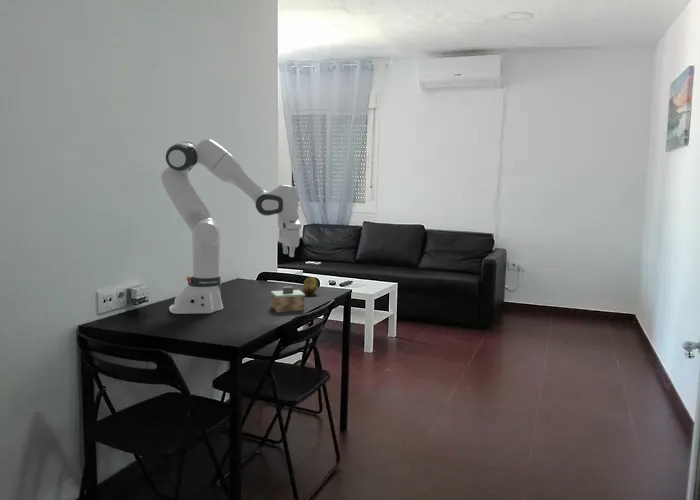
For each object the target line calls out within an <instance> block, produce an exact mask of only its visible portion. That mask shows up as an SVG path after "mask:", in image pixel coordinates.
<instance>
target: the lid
mask: <svg viewBox="0 0 700 500" xmlns="http://www.w3.org/2000/svg"><path fill="white" fill-rule="evenodd" d="M270 294H271V295H272V294H273V295H274V296H275V297H276V298H278V297H297V296H304V297H306V295H305V294H304V293H303V291H301V290H300V289H294V287H293V286H282V290H272V291H270Z"/></svg>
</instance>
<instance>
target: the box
mask: <svg viewBox="0 0 700 500" xmlns="http://www.w3.org/2000/svg"><path fill="white" fill-rule="evenodd" d="M271 308H272V309H273V310H274V311H275V312H276V313H281V312H283V313H284V312H296V311H299V312H300V311H305V296H297V297H278V298H276V297H275V296H274V295H273V294H272V293H271Z"/></svg>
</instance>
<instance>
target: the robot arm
mask: <svg viewBox="0 0 700 500" xmlns="http://www.w3.org/2000/svg"><path fill="white" fill-rule="evenodd" d="M165 161H166V163H167V165H168V167H167V168H165V169H164V170H163V171H162V172H161V176H160V179H161V183H162V186H163V187H164V190H165V192H166V194H167V195H168V197H169V199H170V200H171V202H172V203H173V206H174V207H175V209H176V210H177V212H178V213H179V215H180V216H181V218H182V220H183V221H184V223H185V224H186V225H187V227H188V228H189V230H190V232H191V233H192V238H191V239H192V276H186V278H185V279H186V281H187V286H185V287H184V288H183V289H181V291H179V292H178V293H177V294H176V296H175V299H174V303H173V304H171V305H170V306H169V307H168V309H169V312H170V313H172V314H173V315H174V314H176V315H177V314H178V315H181V314H184V315H188V314H212V313H214V312H218V311H221V310H223V309H224V305H223V301H222V295H221V287H222V286H221V285H222V282H221V281H222V279H221V275H220V246H221V245H220V243H221V242H220V240H221V239H220V238H221V236H220V234H221V233H220V227H219V224H218V222H217V221H216V220H215V217H214V216H213V215H212V213H211V212H210V210H209V208H208V207H207V205H206V203H205V201H204V200H203V198H202V197H201V195H200V193H199V192H198V190H197V188H196V187H195V185H194V183H193V182H192V181H191V179H190V175H189V172H190V171H191V170H192V168H194V167H195V166H196V164H197V165H202V166H203V167H204V168H205V169H207V170H208V171H209V172H210V173H211V174H212V175H213V176H216V178H218V179H219V180H222V182H225V183H227V184H231V185H233V186H235V187H237V188H239V189H240V190H241V192H243V193H244V194H245V195H247V196H248V197H249V198H250V199H251V200H252V201H253V202H254V204H255V208H256V211H257V212H258V213H259V214H261V215H262V216H267V217H269V216H270V217H271V216H273V215H277V227H278V241H279V243H282V245H281V246H282V253H283V254H284V255H288V256H289V257H290V258H294V257H295V251H296V248H298V247H299V245H300V240H301V239H300V237H301V235H300V234H301V231H300V229H301V228H302V224H301V223H300V215H299V211H298V210H299V205H300V204H299V193H298V189H297V188H296V187H294V186H293V185H287V184H279V186H277V187H275V188H274V189H271V190H267V189H266V190H265V189H263V188H262V187H261V186H260V185H259V184H257V183H256V182H255V181H254V180H253V179H252V178H250V177H249V175H248V174H246V172H245V171H244V168H243V167H242V166H241V164H240V163H239V162H238V160H237V159H236V158H235V157H234V156H233V155H232V154H231V153H230V152H229V151H228V150H226V149H225V148H224V147H223V146H221V144H219V143H217V142H216V141H214V140H212V139H210V138H205V139H202V140H200V141H199V142H198V143H197V144H196V145H195V143H193V142H191V141H180V142H177V143H175V144H173V145H171V146H170V147H169V148H168V149H167V151H166V153H165ZM288 247H289V249H288Z"/></svg>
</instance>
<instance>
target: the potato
mask: <svg viewBox="0 0 700 500" xmlns="http://www.w3.org/2000/svg"><path fill="white" fill-rule="evenodd" d="M318 285H319V284H318V279H317V278H315V277H313V276H311V277H310V276H309V277H307V278H305V280H304V281H303V285H302V292H303V293H304V294H305V296H306V297H307V296H308V297H312V296H313V295H315V292H316V291H317V287H318Z"/></svg>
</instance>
